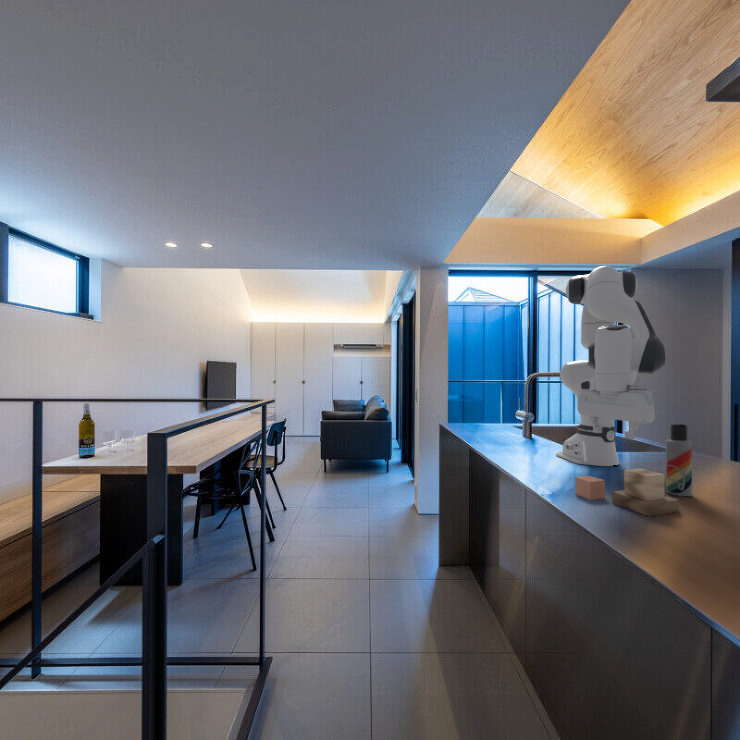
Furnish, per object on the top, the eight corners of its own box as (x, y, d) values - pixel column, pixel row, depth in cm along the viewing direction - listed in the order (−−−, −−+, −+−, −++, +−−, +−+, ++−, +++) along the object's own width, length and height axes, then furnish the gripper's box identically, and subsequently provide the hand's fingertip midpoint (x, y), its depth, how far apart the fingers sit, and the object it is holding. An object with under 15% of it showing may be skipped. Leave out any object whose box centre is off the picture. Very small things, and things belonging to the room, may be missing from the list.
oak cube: (624, 493, 101) (624, 470, 101) (641, 490, 102) (641, 468, 102) (646, 500, 95) (646, 476, 95) (664, 498, 97) (664, 474, 97)
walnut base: (611, 502, 102) (611, 491, 102) (639, 499, 105) (639, 488, 105) (649, 516, 92) (649, 504, 92) (678, 511, 95) (678, 499, 95)
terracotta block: (575, 494, 109) (575, 477, 109) (589, 492, 110) (589, 475, 110) (590, 500, 104) (590, 482, 104) (604, 498, 106) (604, 480, 106)
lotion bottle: (670, 495, 108) (670, 424, 108) (663, 489, 113) (663, 422, 113) (695, 498, 106) (695, 425, 106) (686, 491, 111) (686, 422, 111)
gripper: (661, 386, 95) (661, 441, 95) (589, 382, 114) (589, 429, 114) (643, 386, 93) (642, 443, 93) (573, 383, 112) (573, 430, 112)
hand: (613, 435), depth 104 cm, fingers open, 8 cm apart
